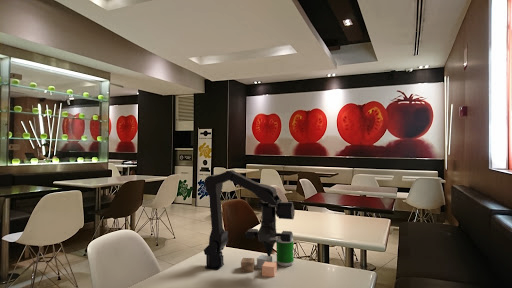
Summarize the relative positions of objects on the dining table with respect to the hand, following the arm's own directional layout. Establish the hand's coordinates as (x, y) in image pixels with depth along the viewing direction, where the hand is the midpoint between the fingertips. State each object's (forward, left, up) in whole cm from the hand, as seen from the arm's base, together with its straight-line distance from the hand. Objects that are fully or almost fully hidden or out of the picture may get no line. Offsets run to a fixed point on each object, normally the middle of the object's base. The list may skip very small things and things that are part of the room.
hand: (269, 256), depth 124 cm
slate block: (-4, +7, -7) cm, 11 cm away
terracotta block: (0, 0, -7) cm, 7 cm away
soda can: (+4, +12, -7) cm, 15 cm away
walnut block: (-10, +2, -7) cm, 12 cm away
